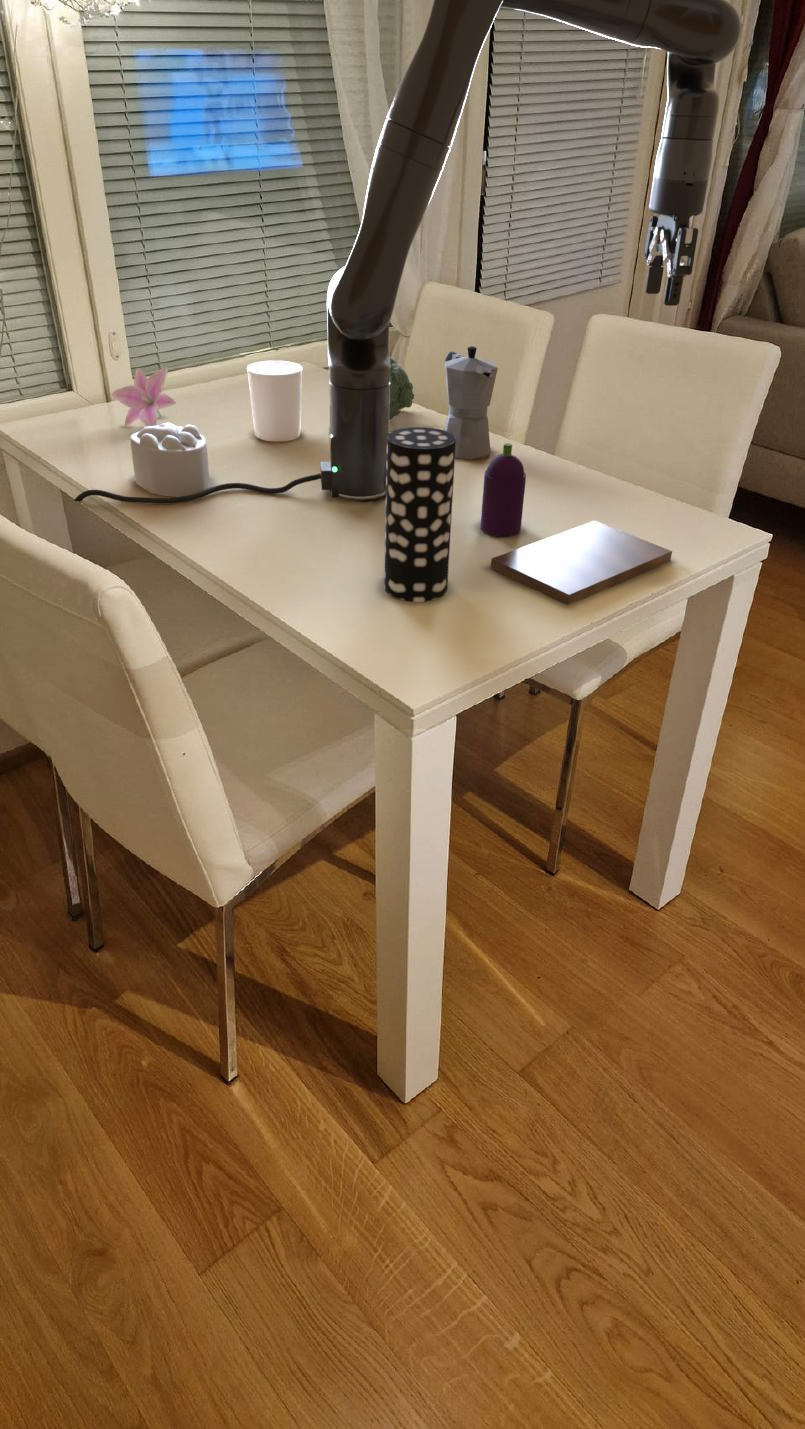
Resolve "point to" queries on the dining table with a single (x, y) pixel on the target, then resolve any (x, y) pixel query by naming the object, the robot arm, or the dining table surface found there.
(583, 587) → the cutting board
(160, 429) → the lumpy-topped squat cylinder
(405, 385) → the vegetable
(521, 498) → the eggplant
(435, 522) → the spotted tube
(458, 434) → the coffeepot
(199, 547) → the dining table surface
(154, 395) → the lily
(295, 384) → the candle holder
